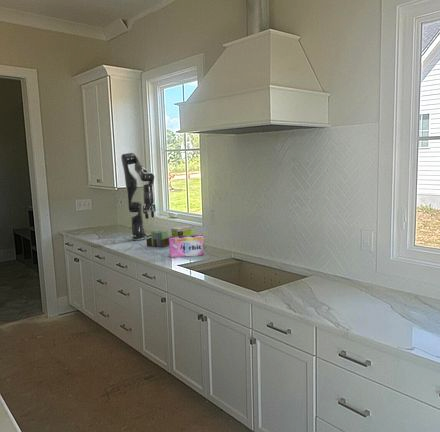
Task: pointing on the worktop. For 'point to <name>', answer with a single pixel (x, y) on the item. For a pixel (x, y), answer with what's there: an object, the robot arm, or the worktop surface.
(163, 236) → the green book
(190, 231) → the tea box
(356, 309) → the worktop surface
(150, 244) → the book rack
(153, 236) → the green books
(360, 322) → the worktop surface
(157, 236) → the grey books
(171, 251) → the gum box
